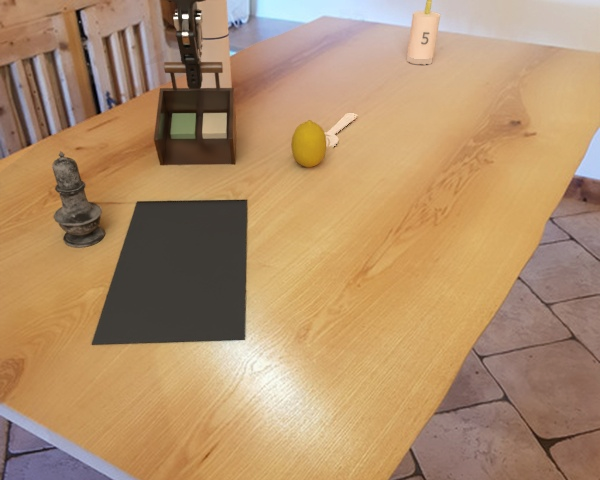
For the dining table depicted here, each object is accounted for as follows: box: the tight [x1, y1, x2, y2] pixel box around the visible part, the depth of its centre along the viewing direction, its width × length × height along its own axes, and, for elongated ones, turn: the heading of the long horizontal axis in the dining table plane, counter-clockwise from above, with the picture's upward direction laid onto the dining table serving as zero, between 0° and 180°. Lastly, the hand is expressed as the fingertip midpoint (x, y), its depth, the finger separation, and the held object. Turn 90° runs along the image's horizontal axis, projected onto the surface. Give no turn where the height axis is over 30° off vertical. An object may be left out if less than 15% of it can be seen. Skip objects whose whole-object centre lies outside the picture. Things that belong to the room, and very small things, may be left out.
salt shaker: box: [51, 151, 106, 248], centre depth 69 cm, size 6×6×12 cm
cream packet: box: [202, 113, 227, 139], centre depth 92 cm, size 5×4×1 cm
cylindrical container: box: [197, 0, 233, 88], centre depth 103 cm, size 7×7×25 cm
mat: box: [91, 199, 248, 346], centre depth 73 cm, size 40×16×1 cm, turn 4°
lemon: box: [290, 119, 327, 168], centre depth 86 cm, size 6×6×8 cm
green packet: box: [170, 113, 197, 139], centre depth 92 cm, size 5×4×1 cm
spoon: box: [324, 112, 358, 148], centre depth 100 cm, size 5×18×1 cm, turn 152°
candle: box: [406, 0, 441, 59], centre depth 129 cm, size 6×6×15 cm
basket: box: [153, 61, 237, 166], centre depth 87 cm, size 12×12×11 cm
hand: (195, 84), depth 88 cm, fingers closed on basket
